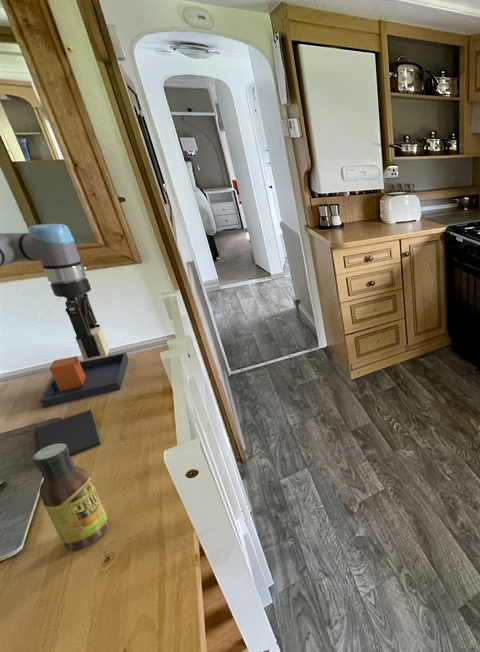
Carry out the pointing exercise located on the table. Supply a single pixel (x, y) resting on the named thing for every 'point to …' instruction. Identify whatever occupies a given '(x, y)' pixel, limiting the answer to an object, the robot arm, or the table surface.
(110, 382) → the tray
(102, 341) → the cream block
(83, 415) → the mat
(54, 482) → the sauce bottle
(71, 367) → the rust block
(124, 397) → the table surface
